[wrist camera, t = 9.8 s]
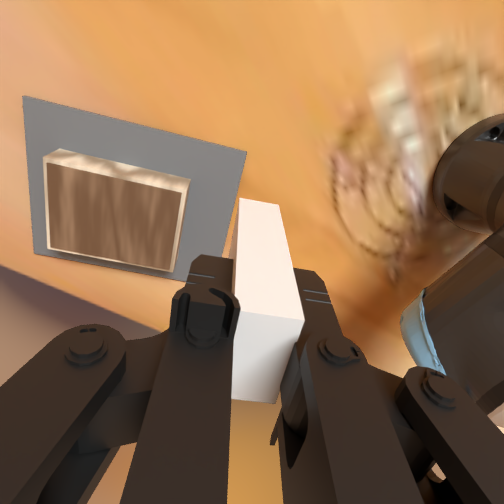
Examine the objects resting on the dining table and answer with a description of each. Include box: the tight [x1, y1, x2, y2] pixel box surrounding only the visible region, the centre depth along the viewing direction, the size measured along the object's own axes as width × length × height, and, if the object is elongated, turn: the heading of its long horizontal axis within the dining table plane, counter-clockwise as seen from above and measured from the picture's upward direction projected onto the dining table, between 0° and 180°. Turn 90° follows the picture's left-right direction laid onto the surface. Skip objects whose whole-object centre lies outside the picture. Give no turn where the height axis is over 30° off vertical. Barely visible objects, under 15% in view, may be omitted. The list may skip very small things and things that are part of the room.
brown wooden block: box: [43, 149, 191, 272], centre depth 43 cm, size 4×12×16 cm
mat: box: [22, 96, 247, 282], centre depth 45 cm, size 26×21×1 cm
